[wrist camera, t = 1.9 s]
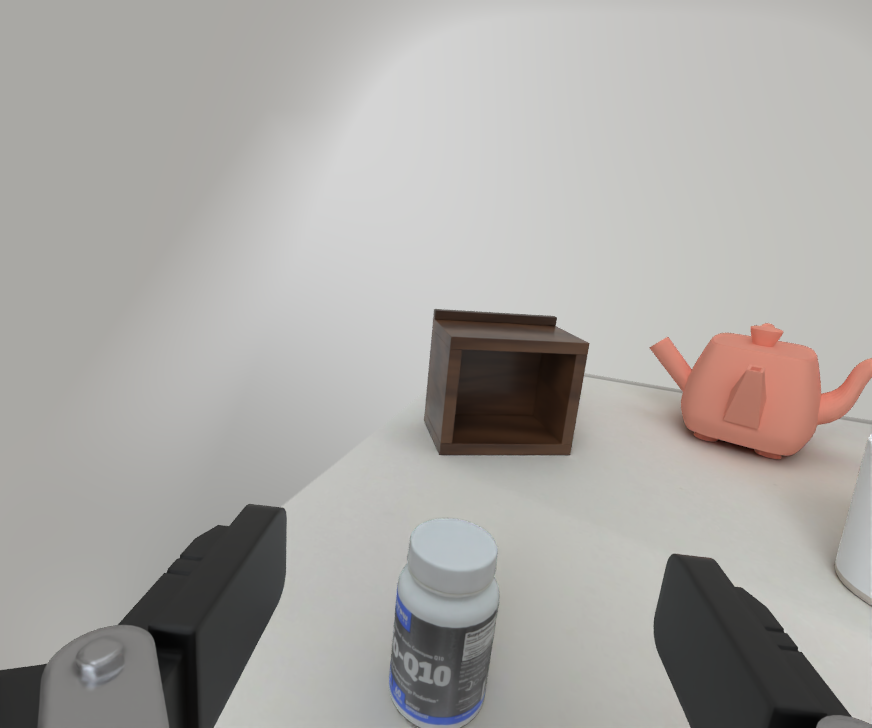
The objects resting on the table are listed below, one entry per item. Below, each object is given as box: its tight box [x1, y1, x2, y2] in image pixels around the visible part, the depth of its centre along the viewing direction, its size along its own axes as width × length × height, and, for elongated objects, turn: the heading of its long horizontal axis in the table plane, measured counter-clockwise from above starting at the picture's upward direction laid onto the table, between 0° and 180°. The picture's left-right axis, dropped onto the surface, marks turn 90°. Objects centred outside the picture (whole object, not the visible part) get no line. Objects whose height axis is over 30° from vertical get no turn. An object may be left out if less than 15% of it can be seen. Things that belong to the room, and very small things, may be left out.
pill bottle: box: [389, 518, 500, 728], centre depth 25 cm, size 5×5×8 cm
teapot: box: [650, 323, 872, 459], centre depth 63 cm, size 18×18×14 cm
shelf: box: [424, 309, 589, 455], centre depth 56 cm, size 9×14×13 cm, turn 101°
